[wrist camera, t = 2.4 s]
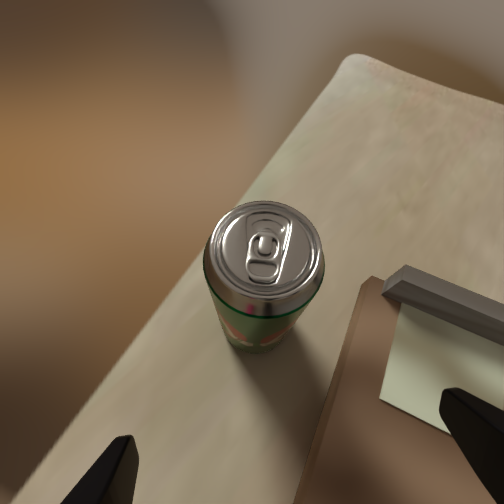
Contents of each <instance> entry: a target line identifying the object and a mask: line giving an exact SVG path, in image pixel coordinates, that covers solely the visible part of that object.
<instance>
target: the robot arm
mask: <svg viewBox="0 0 504 504" xmlns="http://www.w3.org/2000/svg"><path fill="white" fill-rule="evenodd" d="M439 414H440V417H441V419H442V420H443V422H444V424H445V425H446V427H447V429H448V430H449V432H450V433H451V435H452V437H453V438H454V440H455V442H456V443H457V445H458V446H459V448H460V450H461V451H462V453H463V454H464V456H465V458H466V459H467V461H468V463H469V464H470V466H471V467H472V469H473V471H474V472H475V474H476V475H477V477H478V478H479V480H480V481H481V482H482V484H483V485H484V487H485V488H486V490H487V491H488V492H489V494H490V495H491V497H492V498H493V499H494V501H495V502H496V503H497V504H504V411H503V410H501V409H500V408H498V407H496V406H494V405H492V404H490V403H488V402H486V401H484V400H482V399H480V398H478V397H476V396H474V395H473V394H471V393H469V392H467V391H465V390H463V389H461V388H458V387H453V388H446V389H444V390H443V391H442V394H441V400H440V405H439ZM138 466H139V455H138V451H137V448H136V444H135V440H134V437H133V436H132V435H125V436H119V437H116V438H115V439H114V440H113V441H112V442H111V444H110V445H109V446H108V447H107V448H106V450H105V451H104V452H103V453H102V454H101V456H100V457H99V458H98V459H97V460H96V461H95V463H94V464H93V465H92V466H91V467H90V469H89V470H88V471H87V472H86V473H85V475H84V476H83V477H82V478H81V479H80V481H79V482H78V483H77V484H76V485H75V487H74V488H73V489H72V490H71V491H70V493H69V494H68V495H67V496H66V497H65V499H64V500H63V501H62V502H61V503H60V504H132V501H133V496H134V490H135V484H136V478H137V472H138Z"/></svg>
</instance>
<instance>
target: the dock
mask: <svg viewBox="0 0 504 504" xmlns="http://www.w3.org/2000/svg"><path fill="white" fill-rule="evenodd" d="M453 387H458V388H461V389H463V390H465V391H467V392H469V393H471V394H473V395H474V396H476V397H478V398H480V399H482V400H484V401H486V402H488V403H490V404H492V405H494V406H496V407H498V408H500V409H501V410H503V411H504V304H502V303H499V302H497V301H494V300H492V299H489V298H487V297H485V296H482V295H480V294H477V293H475V292H472V291H470V290H467V289H465V288H462V287H460V286H458V285H455V284H453V283H450V282H448V281H445V280H443V279H440V278H438V277H435V276H433V275H430V274H428V273H426V272H423V271H421V270H418V269H416V268H413V267H411V266H408V265H404V266H403V267H402V268H401V269H399V270H398V271H397V272H395V273H394V274H393V275H392V276H390V277H389V278H388V279H387V280H385V281H384V280H381V279H379V278H376V277H374V276H371V277H370V278H369V279H367V280H366V281H365V282H364V283H363V284H362V285H361V288H360V292H359V295H358V298H357V301H356V304H355V308H354V311H353V314H352V317H351V320H350V324H349V327H348V330H347V333H346V336H345V340H344V343H343V346H342V349H341V352H340V356H339V359H338V362H337V365H336V368H335V372H334V375H333V378H332V381H331V384H330V388H329V391H328V394H327V397H326V400H325V404H324V407H323V410H322V413H321V416H320V420H319V423H318V426H317V429H316V432H315V436H314V439H313V442H312V445H311V448H310V452H309V455H308V458H307V461H306V464H305V468H304V471H303V474H302V477H301V480H300V484H299V487H298V490H297V493H296V496H295V500H294V503H293V504H497V503H496V502H495V501H494V499H493V498H492V497H491V495H490V494H489V492H488V491H487V490H486V488H485V487H484V485H483V484H482V482H481V481H480V480H479V478H478V477H477V475H476V474H475V472H474V471H473V469H472V467H471V466H470V464H469V463H468V461H467V459H466V458H465V456H464V454H463V453H462V451H461V450H460V448H459V446H458V445H457V443H456V442H455V440H454V438H453V437H452V435H451V433H450V432H449V430H448V429H447V427H446V425H445V424H444V422H443V420H442V419H441V417H440V414H439V405H440V400H441V394H442V391H443V390H444V389H446V388H453Z"/></svg>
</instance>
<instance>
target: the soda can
mask: <svg viewBox="0 0 504 504" xmlns="http://www.w3.org/2000/svg"><path fill="white" fill-rule="evenodd" d="M203 270H204V275H205V279H206V282H207V285H208V287H209V290H210V293H211V296H212V299H213V302H214V305H215V308H216V311H217V314H218V317H219V320H220V323H221V326H222V329H223V331H224V334H225V336H226V337H227V339H228V340H229V342H230V343H231V344H232V345H233V346H235V347H236V348H237V349H239V350H241V351H244V352H247V353H253V354H258V353H264V352H267V351H269V350H271V349H273V348H274V347H276V346H277V345H278V344H279V343H280V342H281V341H282V339H283V338H284V337H285V335H286V334H287V333H288V331H289V330H290V329H291V327H292V326H293V325H294V323H295V322H296V320H297V319H298V318H299V316H300V315H301V314H302V312H303V311H304V310H305V308H306V307H307V306H308V304H309V303H310V302H311V300H312V299H313V297H314V296H315V295H316V293H317V292H318V290H319V288H320V286H321V284H322V281H323V277H324V271H325V261H324V254H323V251H322V245H321V241H320V237H319V235H318V233H317V231H316V229H315V227H314V226H313V224H312V223H311V222H310V221H309V220H308V219H307V217H305V216H304V215H303V214H302V213H300V212H299V211H297V210H296V209H294V208H292V207H290V206H288V205H285V204H282V203H279V202H273V201H254V202H249V203H245V204H243V205H240V206H238V207H236V208H234V209H232V210H231V211H229V212H228V213H227V214H226V215H224V216H223V217H222V218H221V219H220V221H219V222H218V224H217V225H216V226H215V229H214V230H213V233H212V234H211V235H210V237H209V239H208V241H207V243H206V246H205V249H204V255H203Z"/></svg>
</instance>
